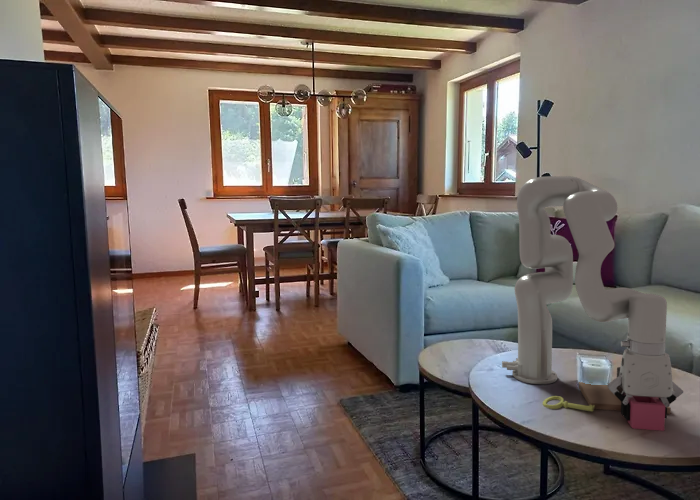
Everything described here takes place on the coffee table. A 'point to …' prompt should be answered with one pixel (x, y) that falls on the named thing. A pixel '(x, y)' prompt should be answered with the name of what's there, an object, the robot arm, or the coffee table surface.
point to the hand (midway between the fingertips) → (643, 418)
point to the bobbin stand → (603, 396)
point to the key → (566, 404)
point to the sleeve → (647, 413)
